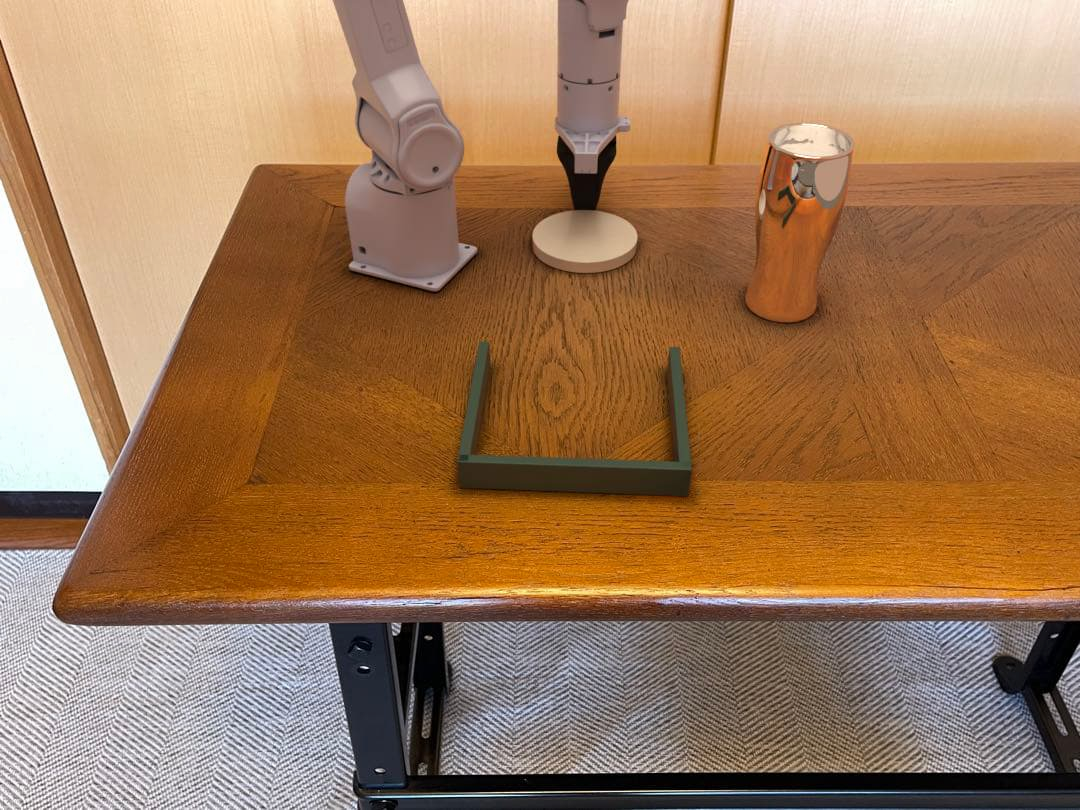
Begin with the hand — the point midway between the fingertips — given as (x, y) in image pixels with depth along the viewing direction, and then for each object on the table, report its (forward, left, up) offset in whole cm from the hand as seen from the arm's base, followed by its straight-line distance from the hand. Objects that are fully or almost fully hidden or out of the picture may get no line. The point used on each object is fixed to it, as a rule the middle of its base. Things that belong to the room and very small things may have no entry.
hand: (585, 209), depth 92 cm
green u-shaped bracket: (+11, -30, -1) cm, 32 cm away
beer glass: (+21, -8, -1) cm, 23 cm away
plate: (+2, -5, -1) cm, 6 cm away
